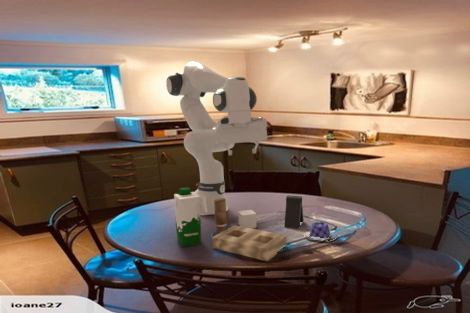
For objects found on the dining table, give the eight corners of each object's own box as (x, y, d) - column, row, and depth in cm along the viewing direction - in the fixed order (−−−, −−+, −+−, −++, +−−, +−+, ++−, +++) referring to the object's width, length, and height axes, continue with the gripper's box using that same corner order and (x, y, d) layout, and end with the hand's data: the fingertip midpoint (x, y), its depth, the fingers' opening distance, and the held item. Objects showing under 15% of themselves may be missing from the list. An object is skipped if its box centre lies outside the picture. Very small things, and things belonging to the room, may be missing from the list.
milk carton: (196, 236, 138) (194, 185, 135) (204, 244, 130) (201, 190, 127) (174, 240, 135) (171, 188, 132) (180, 248, 126) (177, 194, 123)
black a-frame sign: (298, 228, 142) (298, 199, 140) (284, 227, 144) (283, 198, 143) (303, 221, 150) (303, 194, 148) (290, 220, 153) (289, 193, 151)
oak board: (212, 247, 126) (212, 237, 125) (234, 235, 138) (234, 225, 137) (267, 261, 114) (267, 249, 113) (286, 246, 125) (286, 235, 125)
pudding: (338, 244, 126) (338, 230, 125) (303, 243, 128) (303, 229, 128) (335, 232, 138) (335, 219, 137) (303, 231, 140) (303, 218, 139)
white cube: (238, 224, 149) (238, 211, 148) (252, 223, 151) (251, 209, 150) (242, 229, 143) (242, 215, 143) (256, 227, 145) (256, 213, 144)
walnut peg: (213, 235, 138) (211, 200, 136) (219, 231, 142) (218, 197, 140) (222, 237, 135) (221, 201, 133) (229, 233, 139) (228, 199, 137)
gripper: (265, 116, 141) (268, 151, 142) (214, 120, 141) (217, 155, 142) (267, 116, 135) (269, 152, 136) (213, 120, 135) (216, 156, 136)
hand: (242, 154), depth 139 cm, fingers open, 8 cm apart
